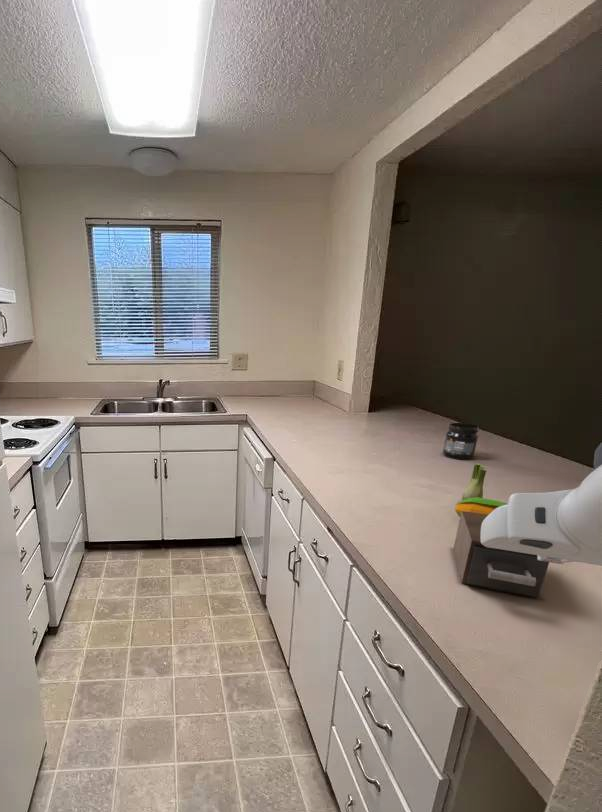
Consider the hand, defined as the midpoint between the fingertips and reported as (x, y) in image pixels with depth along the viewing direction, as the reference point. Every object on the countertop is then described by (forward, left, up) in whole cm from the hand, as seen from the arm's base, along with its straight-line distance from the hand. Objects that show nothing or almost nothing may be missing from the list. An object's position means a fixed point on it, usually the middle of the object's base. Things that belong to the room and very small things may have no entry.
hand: (548, 557), depth 65 cm
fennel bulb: (-1, -63, -17) cm, 65 cm away
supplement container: (-3, -113, -17) cm, 115 cm away
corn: (-5, -48, -17) cm, 51 cm away
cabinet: (0, -25, -17) cm, 30 cm away
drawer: (0, -21, -16) cm, 26 cm away
